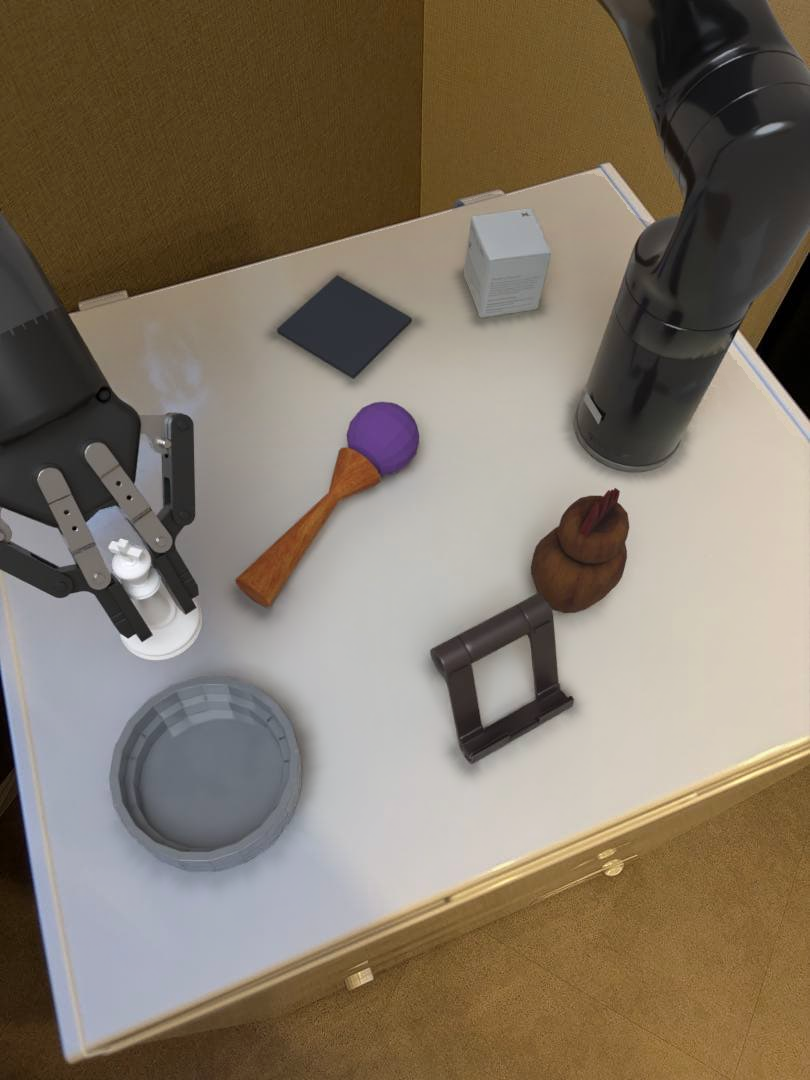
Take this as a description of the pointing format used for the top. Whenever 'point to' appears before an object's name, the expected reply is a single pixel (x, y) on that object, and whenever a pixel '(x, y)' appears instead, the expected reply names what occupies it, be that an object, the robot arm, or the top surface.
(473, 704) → the tablet stand
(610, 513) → the brown gourd
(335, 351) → the mat
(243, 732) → the basin
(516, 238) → the product box
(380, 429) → the kendama
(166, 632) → the chess piece
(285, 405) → the top surface
